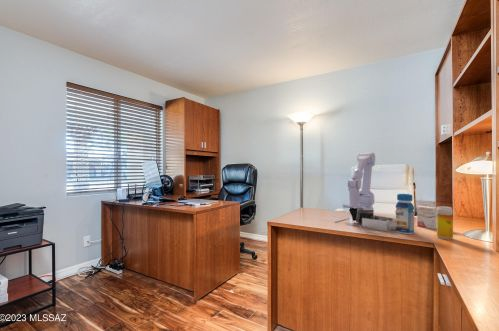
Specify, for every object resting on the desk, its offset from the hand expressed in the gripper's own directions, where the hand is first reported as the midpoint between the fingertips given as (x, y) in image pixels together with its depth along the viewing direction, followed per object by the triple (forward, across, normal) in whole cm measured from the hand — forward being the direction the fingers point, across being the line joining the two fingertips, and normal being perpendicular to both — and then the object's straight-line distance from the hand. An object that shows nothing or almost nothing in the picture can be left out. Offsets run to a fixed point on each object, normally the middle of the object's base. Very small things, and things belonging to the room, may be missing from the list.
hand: (354, 220), depth 149 cm
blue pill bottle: (+2, +28, -2) cm, 28 cm away
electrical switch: (+1, +6, +2) cm, 6 cm away
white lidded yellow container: (+2, +44, +1) cm, 44 cm away
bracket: (+1, +14, 0) cm, 14 cm away
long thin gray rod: (+1, -8, 0) cm, 8 cm away
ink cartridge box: (+1, +32, +21) cm, 38 cm away
